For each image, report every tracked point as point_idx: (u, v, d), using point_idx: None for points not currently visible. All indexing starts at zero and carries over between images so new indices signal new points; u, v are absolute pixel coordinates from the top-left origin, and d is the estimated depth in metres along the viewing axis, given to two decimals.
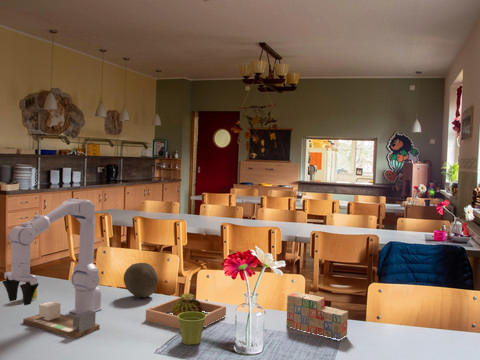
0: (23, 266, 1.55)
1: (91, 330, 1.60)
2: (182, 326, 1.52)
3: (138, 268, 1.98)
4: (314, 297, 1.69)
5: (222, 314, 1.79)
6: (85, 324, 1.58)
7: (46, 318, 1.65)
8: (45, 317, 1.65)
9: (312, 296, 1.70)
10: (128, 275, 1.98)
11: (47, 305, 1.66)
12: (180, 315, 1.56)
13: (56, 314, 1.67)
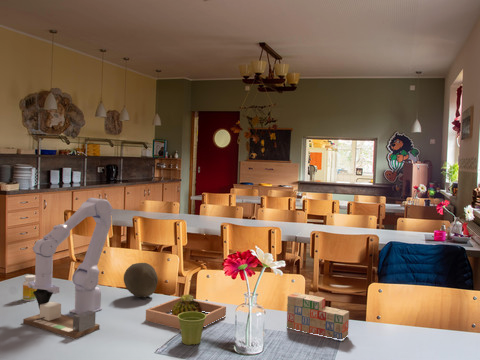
0: (46, 276, 1.67)
1: (91, 330, 1.60)
2: (182, 326, 1.52)
3: (138, 268, 1.98)
4: (315, 297, 1.69)
5: (222, 314, 1.79)
6: (85, 324, 1.58)
7: (47, 318, 1.65)
8: (45, 317, 1.65)
9: (312, 297, 1.69)
10: (128, 275, 1.98)
11: (47, 306, 1.66)
12: (180, 315, 1.56)
13: (57, 314, 1.67)
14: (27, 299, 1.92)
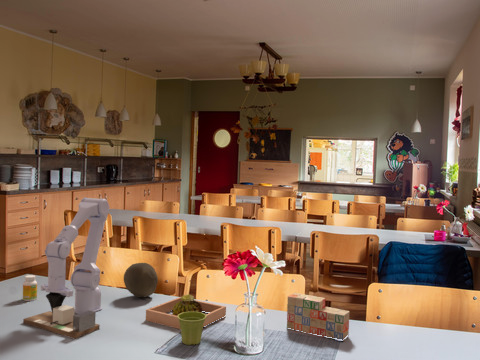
0: (59, 279, 1.64)
1: (91, 330, 1.60)
2: (182, 326, 1.52)
3: (138, 268, 1.98)
4: (315, 298, 1.68)
5: (222, 314, 1.79)
6: (85, 324, 1.58)
7: (60, 322, 1.61)
8: (59, 321, 1.62)
9: (312, 297, 1.69)
10: (128, 275, 1.98)
11: (60, 309, 1.62)
12: (180, 315, 1.56)
13: (70, 318, 1.64)
14: (27, 299, 1.92)
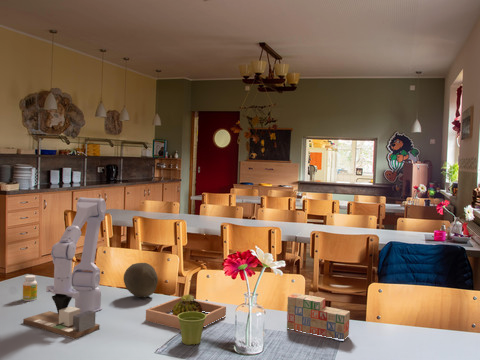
0: (65, 280, 1.62)
1: (91, 330, 1.60)
2: (182, 326, 1.52)
3: (138, 268, 1.98)
4: (315, 298, 1.68)
5: (222, 314, 1.79)
6: (85, 324, 1.58)
7: (66, 324, 1.60)
8: (65, 323, 1.60)
9: (312, 297, 1.69)
10: (128, 275, 1.98)
11: (67, 311, 1.61)
12: (180, 315, 1.56)
13: None
14: (27, 299, 1.92)
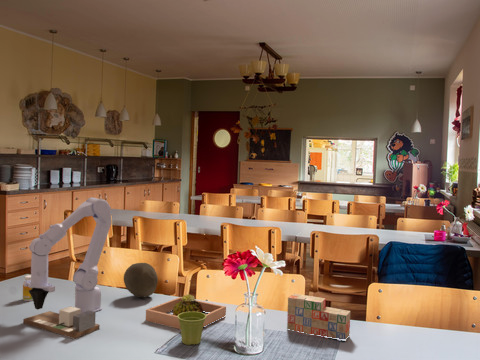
0: (42, 275, 1.68)
1: (91, 330, 1.60)
2: (182, 326, 1.52)
3: (138, 268, 1.98)
4: (315, 298, 1.68)
5: (222, 314, 1.79)
6: (85, 324, 1.58)
7: (66, 324, 1.60)
8: (65, 323, 1.60)
9: (313, 298, 1.68)
10: (128, 275, 1.98)
11: (67, 311, 1.61)
12: (180, 315, 1.56)
13: None
14: (27, 299, 1.92)
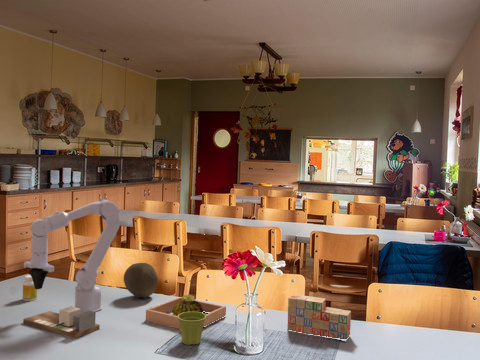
0: (41, 255, 1.71)
1: (91, 330, 1.60)
2: (182, 326, 1.52)
3: (138, 268, 1.98)
4: (316, 298, 1.67)
5: (222, 314, 1.79)
6: (85, 324, 1.58)
7: (66, 324, 1.60)
8: (65, 323, 1.60)
9: (313, 298, 1.68)
10: (128, 275, 1.98)
11: (67, 311, 1.61)
12: (180, 315, 1.56)
13: None
14: (27, 299, 1.92)
